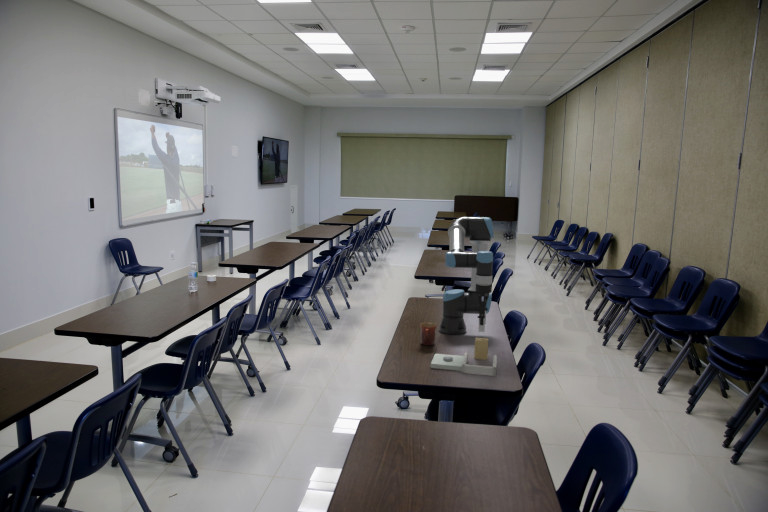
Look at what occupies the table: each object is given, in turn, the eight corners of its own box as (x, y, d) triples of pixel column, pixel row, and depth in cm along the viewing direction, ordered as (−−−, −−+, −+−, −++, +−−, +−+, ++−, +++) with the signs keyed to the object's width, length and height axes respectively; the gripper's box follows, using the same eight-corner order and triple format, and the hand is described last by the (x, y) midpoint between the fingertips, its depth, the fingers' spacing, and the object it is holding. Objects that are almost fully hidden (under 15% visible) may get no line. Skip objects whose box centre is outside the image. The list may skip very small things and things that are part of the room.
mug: (420, 340, 268) (420, 321, 266) (437, 341, 266) (437, 322, 264) (417, 347, 256) (417, 328, 255) (434, 349, 254) (435, 329, 253)
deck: (435, 356, 243) (435, 350, 242) (496, 362, 236) (496, 355, 236) (429, 369, 227) (430, 362, 226) (495, 376, 220) (496, 368, 219)
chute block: (475, 355, 246) (475, 337, 245) (487, 356, 245) (488, 338, 243) (474, 358, 241) (475, 340, 240) (487, 359, 240) (487, 341, 238)
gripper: (477, 278, 250) (475, 320, 253) (474, 288, 226) (472, 334, 229) (492, 279, 249) (491, 321, 252) (491, 289, 225) (489, 335, 227)
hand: (482, 327), depth 240 cm, fingers open, 13 cm apart
